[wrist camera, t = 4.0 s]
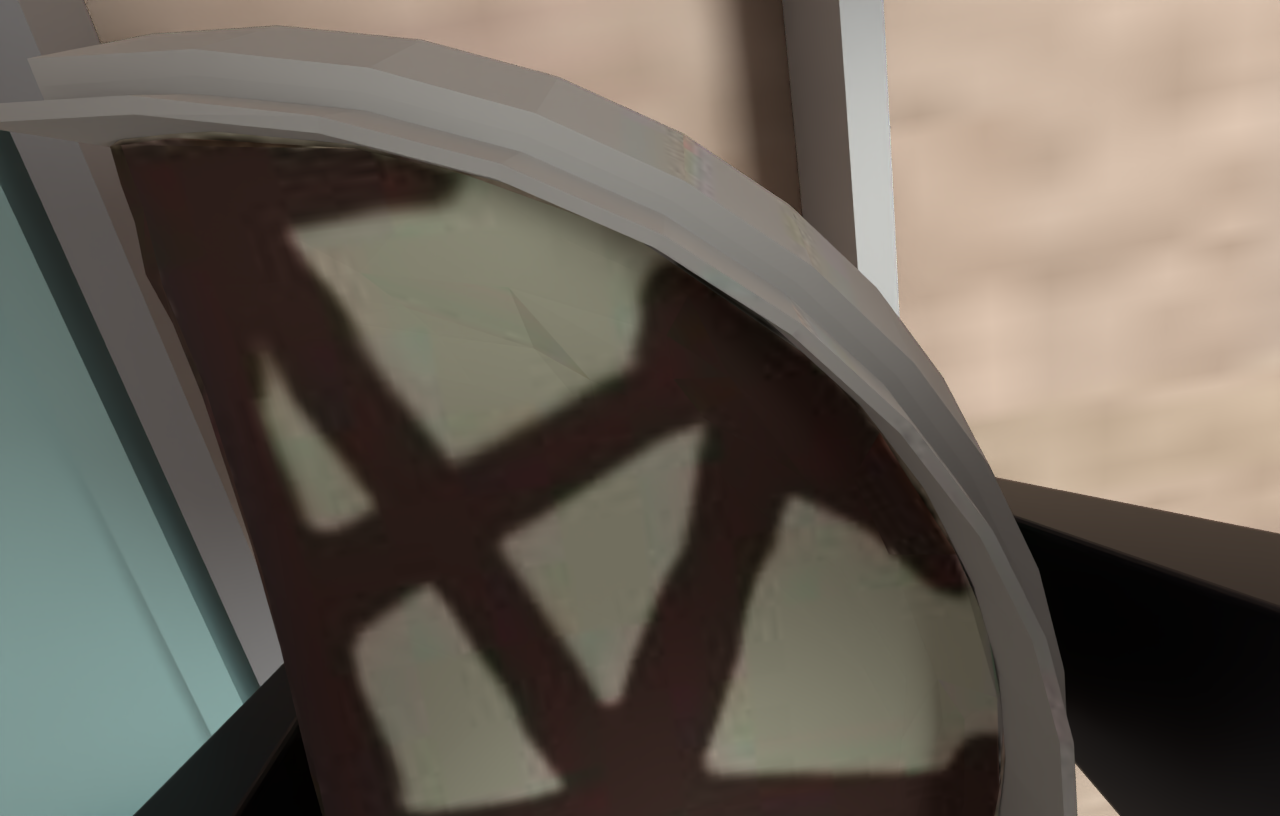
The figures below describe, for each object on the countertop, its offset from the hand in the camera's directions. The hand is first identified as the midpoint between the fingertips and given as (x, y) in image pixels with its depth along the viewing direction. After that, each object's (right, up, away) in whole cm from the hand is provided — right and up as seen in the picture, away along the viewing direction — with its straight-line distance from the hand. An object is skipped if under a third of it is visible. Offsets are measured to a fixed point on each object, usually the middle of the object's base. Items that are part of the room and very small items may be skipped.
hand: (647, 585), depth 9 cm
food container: (0, +2, +6) cm, 7 cm away
